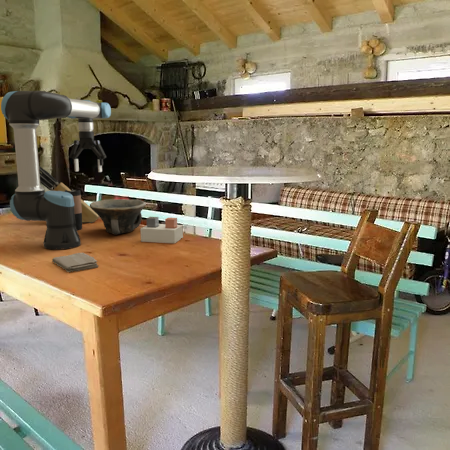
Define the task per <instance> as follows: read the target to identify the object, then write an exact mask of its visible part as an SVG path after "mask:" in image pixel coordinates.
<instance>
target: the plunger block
mask: <svg viewBox="0 0 450 450" xmlns="http://www.w3.org/2000/svg"><path fill="white" fill-rule="evenodd" d="M181 238H182V239H183V238H184V225H183V224H177V228H175V229H174V228H165V223H159V226H158V227H156V228H154V227H147V225H144V226H143V227H141V228H140V242H142V243H163V244H176V243H177V242H179V241H180V240H182V239H181Z"/></svg>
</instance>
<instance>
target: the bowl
mask: <svg viewBox="0 0 450 450" xmlns="http://www.w3.org/2000/svg"><path fill="white" fill-rule="evenodd" d="M89 206H90V208H91V209H92V210H93V211H94V212H95V213H96V214H98V215H99V216H98V217H99V218H100V219H101V220H102V222H103V225H104V228H105V232H106V233H109V234H112V235H122V234H125V233H126V234H127V233H131V232H132V231H134V230H135V229H137V228H139V227H140V225H141V223H142V219H143V215H142V211H143V209H144V208H145V207H146V206H147V204H146V201H143V200H141V199H127V198H126V199H123V198H121V199H119V198H118V199H104V200H96V201H93V202H91V203H90V204H89Z"/></svg>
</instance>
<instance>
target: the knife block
mask: <svg viewBox="0 0 450 450" xmlns="http://www.w3.org/2000/svg"><path fill="white" fill-rule="evenodd" d="M39 175H40V185H43V186H44V188H46V189H47V190H48V191H63V192H65V190H67V191H71V190H72V189H70V188H69V187H68V186H67V185H65V184H64V183H63V182H61V181H58V180H57V179H56V178H55V177H54V176H53V175H52V174H51V173H50V172H48V171H47V170H46V169H45V168H43V167H42V166H39ZM81 207H82V223H90V224H91V223H95V222H96V221H97V220H98V219H99V217H100V216H99V215H98V214H96V213H95V212H94V211H93V210H92V209H91V208H90V204H88V203H87V202H85V201H84V200H83V199H82V198H81Z"/></svg>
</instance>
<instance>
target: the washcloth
mask: <svg viewBox="0 0 450 450" xmlns="http://www.w3.org/2000/svg"><path fill="white" fill-rule="evenodd" d="M51 260H52V261H51V262H52V263H53V262H54V263H53V264H55V263H56V264H57V265H56V264H55V265H56V266H57V267H59V266H60V267H59V268H61V267H62V268H63V270H64V269H65V270H66V271H65V270H64V271H65V272H67V273H68V272H69V273H73V271H76V272H80V270H82V271H86V269H87V270H93V269H95V268H98V267H99V265H98V263H97V262H98V260H96V259H95V257H94V256H91V255H89V254H86V253H85V252H77V253H72V254H68V255H63V256H61V255H60V256H56V257H53V258H52V259H51ZM62 268H61V269H62ZM71 271H72V272H71Z"/></svg>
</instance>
